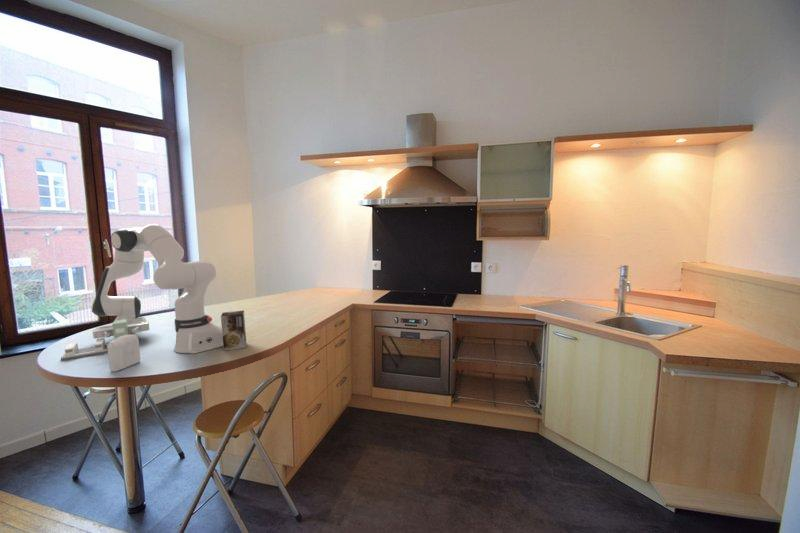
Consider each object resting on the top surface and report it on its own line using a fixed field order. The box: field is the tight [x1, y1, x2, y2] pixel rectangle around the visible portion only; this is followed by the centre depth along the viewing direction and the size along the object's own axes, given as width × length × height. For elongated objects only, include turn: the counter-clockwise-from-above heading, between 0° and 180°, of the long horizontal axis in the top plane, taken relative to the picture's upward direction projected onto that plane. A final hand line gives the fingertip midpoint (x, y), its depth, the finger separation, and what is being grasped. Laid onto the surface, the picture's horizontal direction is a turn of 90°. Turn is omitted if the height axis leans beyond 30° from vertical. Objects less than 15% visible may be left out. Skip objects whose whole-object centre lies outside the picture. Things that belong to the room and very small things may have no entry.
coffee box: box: [220, 310, 248, 352], centre depth 146 cm, size 9×6×16 cm
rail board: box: [60, 337, 108, 362], centre depth 141 cm, size 14×11×4 cm
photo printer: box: [106, 334, 141, 373], centre depth 126 cm, size 10×4×12 cm, turn 170°
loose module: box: [112, 319, 130, 340], centre depth 147 cm, size 4×6×12 cm
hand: (121, 333), depth 147 cm, fingers open, 8 cm apart
